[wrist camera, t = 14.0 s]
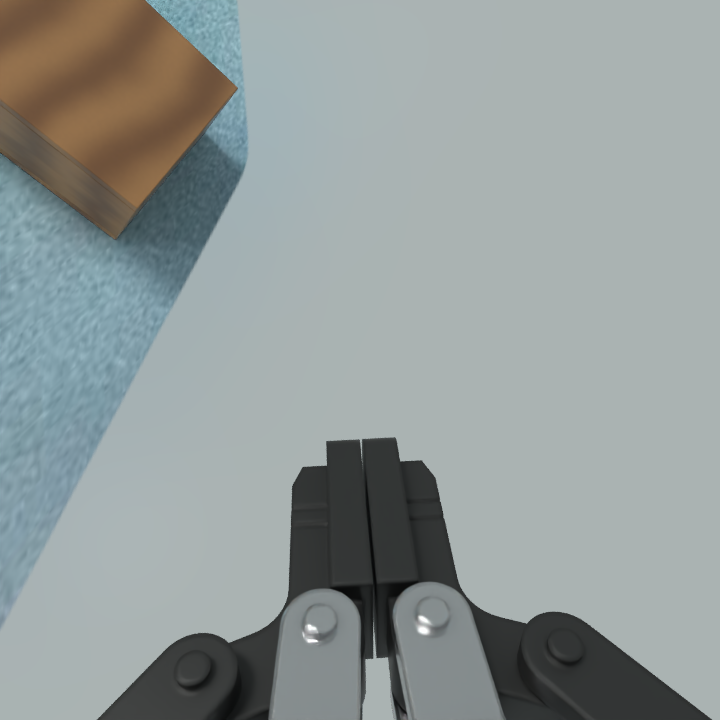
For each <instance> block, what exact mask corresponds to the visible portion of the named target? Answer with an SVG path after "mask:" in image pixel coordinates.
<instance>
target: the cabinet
mask: <svg viewBox="0 0 720 720" xmlns="http://www.w3.org/2000/svg"><path fill="white" fill-rule="evenodd" d="M237 89H238V88H237V87H236V86H235V85H234V84H233V83H232V82H231V81H230V80H229V79H228V78H227V77H226V76H225V75H224V74H223V73H222V72H220V71H219V70H218V69H217V68H216V67H215V66H214V65H213V64H212V63H211V62H210V61H209V60H208V59H207V58H206V57H205V56H204V55H202V54H201V53H200V52H199V51H198V50H197V49H196V48H195V47H194V46H193V45H192V44H191V43H190V42H189V41H188V40H187V39H185V38H184V37H183V36H182V35H181V34H180V33H179V32H178V31H177V30H176V29H175V28H174V27H173V26H172V25H171V24H170V23H169V22H167V21H166V20H165V19H164V18H163V17H162V16H161V15H160V14H159V13H158V12H157V11H156V10H155V9H154V8H153V7H152V6H151V5H149V4H148V3H147V2H146V1H145V0H0V153H2V154H3V155H4V156H5V157H7V158H8V159H9V160H11V161H12V162H13V163H15V164H16V165H17V166H19V167H20V168H21V169H23V170H24V171H25V172H27V173H28V174H29V175H30V176H32V177H33V178H34V179H36V180H37V181H38V182H40V183H41V184H42V185H44V186H45V187H46V188H48V189H49V190H50V191H51V192H53V193H54V194H55V195H57V196H58V197H59V198H61V199H62V200H63V201H65V202H66V203H67V204H69V205H70V206H71V207H72V208H74V209H75V210H76V211H78V212H79V213H80V214H82V215H83V216H84V217H86V218H87V219H88V220H90V221H91V222H92V223H94V224H95V225H96V226H97V227H99V228H100V229H101V230H103V231H104V232H105V233H107V234H108V235H109V236H111V237H112V238H113V239H115V240H116V239H117V238H118V236H119V235H120V234H121V233H122V232H123V230H124V229H125V228H126V227H127V226H128V224H129V223H130V222H131V221H132V220H133V218H134V217H135V216H136V215H137V214H138V212H139V211H140V210H141V209H142V208H143V206H144V205H145V204H146V203H147V202H148V200H149V199H150V198H151V197H152V196H153V194H154V193H155V192H156V191H157V190H158V188H159V187H160V186H161V185H162V183H163V182H164V181H165V180H166V179H167V177H168V176H169V175H170V174H171V173H172V171H173V170H174V169H175V168H176V167H177V165H178V164H179V163H180V162H181V161H182V159H183V158H184V157H185V156H186V155H187V153H188V152H189V151H190V150H191V149H192V147H193V146H194V145H195V144H196V143H197V141H198V140H199V139H200V138H201V137H202V135H203V134H204V133H205V132H206V130H207V129H208V128H209V126H210V125H211V124H212V122H213V121H214V120H215V118H216V117H217V116H218V114H219V113H220V112H221V110H222V109H223V108H224V106H225V105H226V104H227V102H228V101H229V100H230V98H231V97H232V96H233V94H234V93H235V92H236V90H237Z"/></svg>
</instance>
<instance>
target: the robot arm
mask: <svg viewBox="0 0 720 720" xmlns="http://www.w3.org/2000/svg"><path fill="white" fill-rule="evenodd" d="M326 445H327V466H313V467H303V468H302V469H301V471H300V473H299V475H298V477H297V479H296V480H295V482H294V484H293V486H292V512H291V540H290V568H289V591H288V597H287V601H286V603H285V605H284V608H283V609H282V611H281V612H280V614H279V615H278V616H277V617H276V619H275V620H274V621H272V622H271V623H270V624H269V625H268V626H266V627H265V628H263V629H262V630H260V631H258V632H255V633H253V634H251V635H248V636H246V637H243V638H241V639H238V640H235V641H233V642H230V643H228V642H227V641H226V640H225V639H223V638H221V637H219V636H217V635H214V634H209V633H198V634H192V635H189V636H186V637H184V638H181V639H180V640H178V641H176V642H175V643H173V644H172V645H170V646H169V647H168V648H167V649H166V650H165V651H164V652H163V653H162V654H161V655H160V656H159V657H158V658H157V659H156V660H155V661H154V662H153V663H152V664H151V665H150V666H149V667H148V668H147V669H146V670H145V671H144V672H143V673H142V674H141V675H140V676H139V677H138V678H137V679H136V681H135V682H134V683H132V685H131V686H130V687H129V688H128V689H127V690H126V691H125V692H124V693H123V694H122V695H121V696H120V697H119V698H118V699H117V700H116V701H115V702H114V703H113V704H112V705H111V706H110V707H109V708H108V709H107V710H106V711H105V712H104V713H103V714H102V715H101V716H100V717H99V718H98V719H97V720H362V712H363V711H362V709H363V705H362V704H363V702H364V699H365V694H366V673H365V659H373V621H374V632H375V644H376V656H377V658H385V657H388V660H389V670H390V680H391V692H390V693H391V694H390V698H391V706H392V711H393V717H394V720H712V719H710V718H709V717H708V716H707V715H705V714H704V713H703V712H701V711H700V710H698V709H697V708H696V707H695V706H693V705H692V704H691V703H690V702H688V701H687V700H686V699H684V698H683V697H682V696H681V695H679V694H678V693H677V692H675V691H674V690H672V689H671V688H670V687H669V686H667V685H666V684H665V683H664V682H662V681H661V680H660V679H658V678H657V677H656V676H655V675H653V674H652V673H651V672H649V671H648V670H647V669H645V668H644V667H643V666H642V665H640V664H639V663H637V662H636V661H635V660H634V659H632V658H631V657H630V656H628V655H627V654H626V653H625V652H623V651H622V650H621V649H619V648H618V647H617V646H616V645H614V644H613V643H612V642H610V641H609V640H608V639H606V638H605V637H604V636H603V635H601V634H600V633H599V632H597V631H596V630H595V629H593V628H592V627H591V626H590V625H588V624H587V623H585V622H584V621H582V620H581V619H579V618H577V617H575V616H573V615H570V614H567V613H562V612H546V613H543V614H539V615H537V616H535V617H534V618H532V619H531V620H530V621H529V622H528V623H527V624H526V623H522V622H518V621H513V620H509V619H505V618H501V617H498V616H494V615H491V614H489V613H487V612H485V611H483V610H481V609H480V608H478V607H477V606H476V605H474V604H473V603H472V602H471V601H470V600H469V599H468V598H467V597H466V595H465V594H464V592H463V591H462V589H461V587H460V585H459V582H458V579H457V574H456V570H455V565H454V561H453V557H452V552H451V547H450V543H449V538H448V533H447V529H446V524H445V520H444V518H443V511H442V506H441V502H440V497H439V493H438V488H437V484H436V479H435V477H434V475H433V474H432V473H431V472H430V471H429V469H428V468H427V467H426V466H425V464H424V463H423V462H422V461H404V462H403V461H402V462H400V459H399V452H398V447H397V441H396V438H395V437H394V438H375V439H362V459H361V448H360V440H342V441H327V442H326ZM362 468H363V469H362Z"/></svg>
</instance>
